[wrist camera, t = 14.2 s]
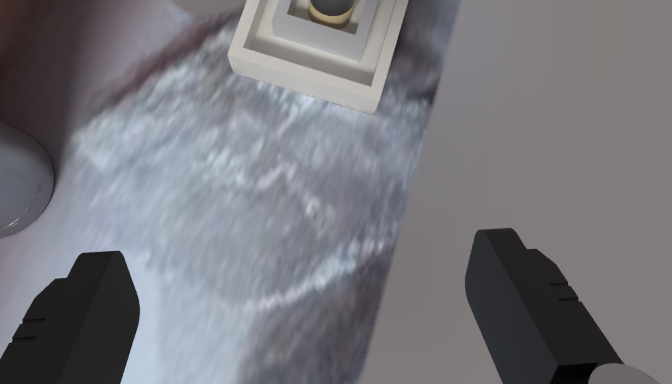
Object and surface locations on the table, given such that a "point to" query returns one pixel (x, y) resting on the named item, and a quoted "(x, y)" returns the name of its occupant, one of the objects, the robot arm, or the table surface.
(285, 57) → the walled box
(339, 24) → the dark grey cylinder
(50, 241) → the table surface
